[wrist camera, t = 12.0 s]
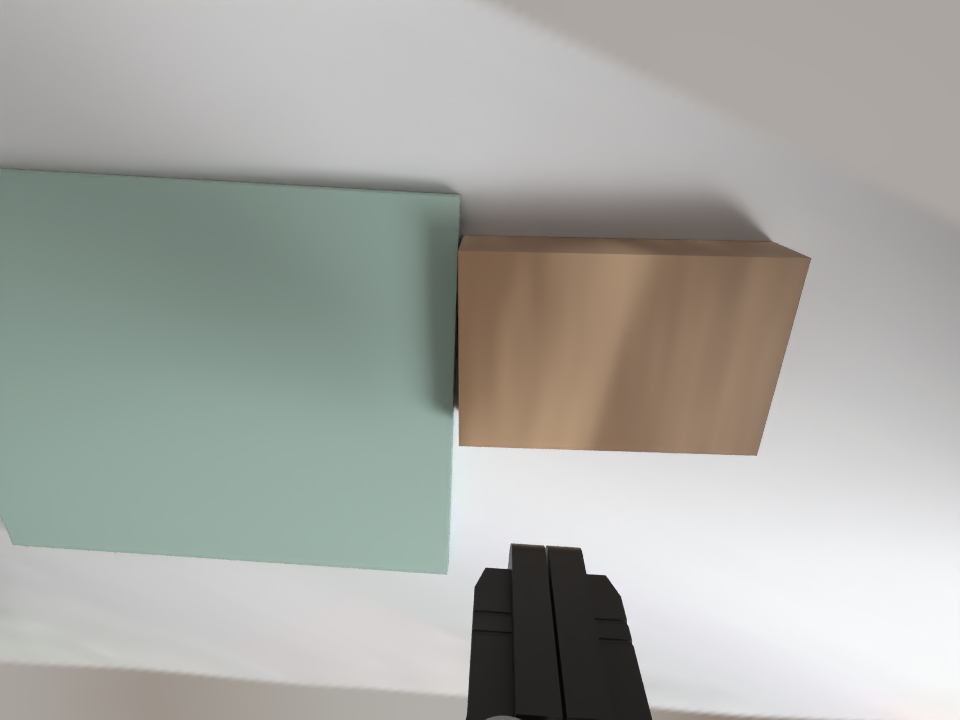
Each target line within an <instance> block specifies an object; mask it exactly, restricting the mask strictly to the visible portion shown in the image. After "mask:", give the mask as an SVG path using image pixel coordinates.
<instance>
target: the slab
mask: <svg viewBox="0 0 960 720" xmlns="http://www.w3.org/2000/svg"><path fill="white" fill-rule="evenodd" d="M810 260H811V258H809V257H807V256H805V255H802V254H800V253H798V252H795V251H793V250H791V249H788V248H786V247H784V246H781V245H779V244H777V243H774V242H771V241H723V240H674V239H625V238H577V237H528V236H480V235H463V238H462V241H461V244H460V247H459V250H458V348H459V446H474V447H505V448H536V449H568V450H599V451H630V452H661V453H692V454H723V455H754V456H757V453H758V449H759V446H760V442H761V438H762V435H763V431H764V427H765V424H766V420H767V417H768V413H769V409H770V406H771V402H772V398H773V395H774V391H775V387H776V384H777V380H778V377H779V373H780V369H781V366H782V362H783V358H784V355H785V351H786V347H787V344H788V340H789V337H790V333H791V329H792V326H793V322H794V318H795V315H796V311H797V307H798V304H799V300H800V297H801V293H802V289H803V286H804V282H805V278H806V275H807V271H808V268H809V264H810Z"/></svg>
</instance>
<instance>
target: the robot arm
mask: <svg viewBox="0 0 960 720" xmlns="http://www.w3.org/2000/svg"><path fill="white" fill-rule="evenodd" d="M466 720H652V717H651V713H650V709H649V705H648V701H647V697H646V693H645V690H644V686H643V682H642V678H641V674H640V670H639V666H638V662H637V658H636V654H635V650H634V646H633V645H632V638H631V635H630V631H629V627H628V625H627V619H626V615H625V611H624V607H623V603H622V599H621V596H620V595H619V593H618V592H617V591H616V589H615V588H614V586H613V585H612V584H611V582H610V581H609V579H608V578H607V577H606V575H590V574H586V570H585V564H584V559H583V554H582V550H581V548H575V547H560V546H546V548H545V547H544V546H542V545H527V544H512V543H511V545H510V552H509V563H508V569H497V568H485V570H484V572H483V573H482V575H481V577H480V579H479V580H478V582H477V584H476V586H475V590H474V606H473V622H472V639H471V656H470V673H469V690H468V707H467V717H466Z"/></svg>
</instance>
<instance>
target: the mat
mask: <svg viewBox="0 0 960 720" xmlns="http://www.w3.org/2000/svg"><path fill="white" fill-rule="evenodd" d="M460 209H461V195H457V194H439V193H422V192H404V191H386V190H369V189H351V188H334V187H316V186H299V185H281V184H264V183H246V182H228V181H211V180H193V179H176V178H158V177H141V176H123V175H106V174H88V173H71V172H53V171H35V170H18V169H0V515H1V517H2V520H3V522H4V525H5V527H6V530H7V532H8V534H9V537H10V539H11V542H12V544H13V545H20V546H35V547H49V548H64V549H79V550H93V551H108V552H123V553H137V554H152V555H167V556H181V557H196V558H211V559H226V560H240V561H255V562H270V563H284V564H299V565H314V566H328V567H343V568H358V569H372V570H387V571H402V572H416V573H431V574H446V575H447V571H448V563H449V534H450V505H451V475H452V446H453V416H454V387H455V357H456V327H457V298H458V250H459V239H460Z"/></svg>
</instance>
